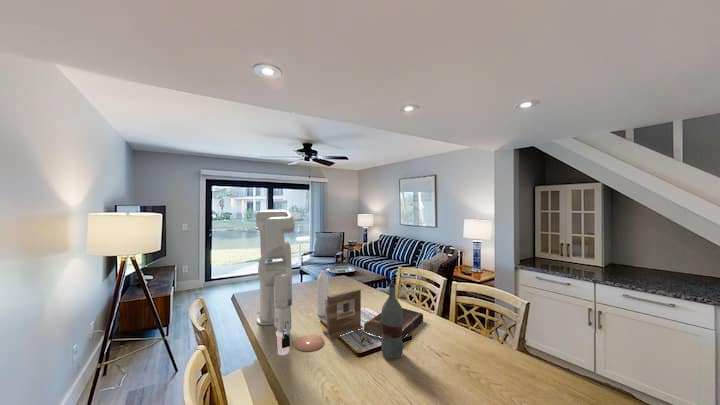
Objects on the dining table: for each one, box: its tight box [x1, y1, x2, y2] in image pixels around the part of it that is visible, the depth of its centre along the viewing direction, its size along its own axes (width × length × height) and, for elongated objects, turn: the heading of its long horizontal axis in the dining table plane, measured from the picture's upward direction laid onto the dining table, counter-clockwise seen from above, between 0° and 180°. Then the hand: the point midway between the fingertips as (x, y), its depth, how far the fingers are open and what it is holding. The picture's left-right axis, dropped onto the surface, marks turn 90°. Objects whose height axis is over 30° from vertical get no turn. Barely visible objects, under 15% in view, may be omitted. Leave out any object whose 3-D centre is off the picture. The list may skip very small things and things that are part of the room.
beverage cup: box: [275, 329, 292, 356], centre depth 118 cm, size 6×6×14 cm
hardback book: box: [363, 307, 424, 341], centre depth 141 cm, size 29×19×5 cm, turn 145°
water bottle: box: [316, 268, 331, 317], centre depth 158 cm, size 9×6×25 cm
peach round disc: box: [294, 334, 325, 352], centre depth 125 cm, size 13×13×1 cm
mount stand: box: [322, 288, 363, 340], centre depth 137 cm, size 10×18×20 cm, turn 124°
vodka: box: [380, 283, 404, 361], centre depth 116 cm, size 9×9×30 cm
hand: (283, 343), depth 118 cm, fingers closed on beverage cup, 6 cm apart
